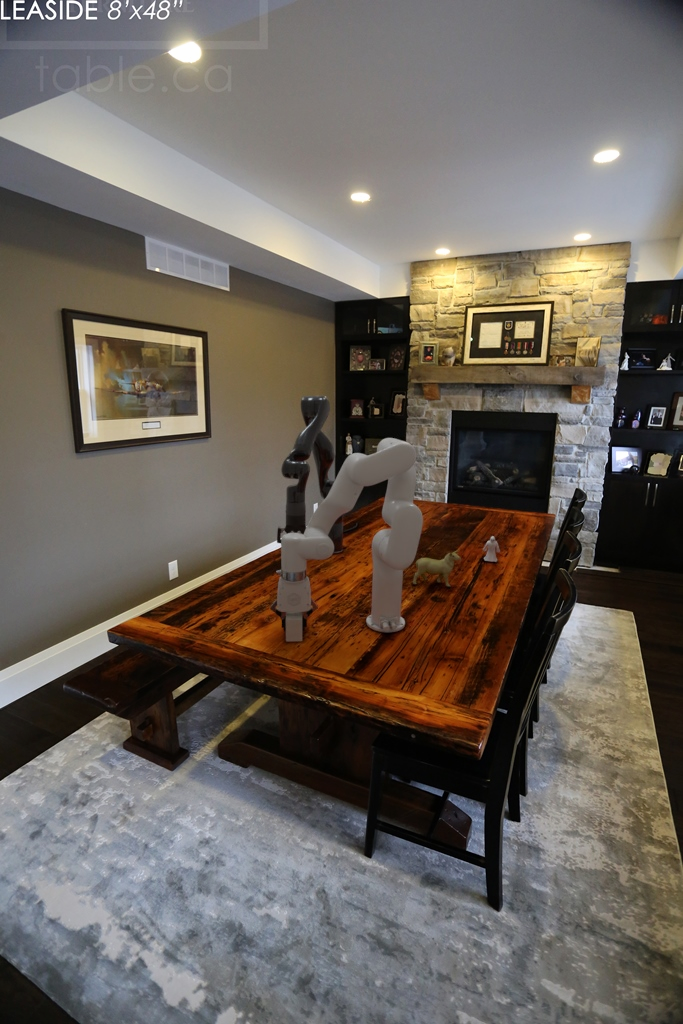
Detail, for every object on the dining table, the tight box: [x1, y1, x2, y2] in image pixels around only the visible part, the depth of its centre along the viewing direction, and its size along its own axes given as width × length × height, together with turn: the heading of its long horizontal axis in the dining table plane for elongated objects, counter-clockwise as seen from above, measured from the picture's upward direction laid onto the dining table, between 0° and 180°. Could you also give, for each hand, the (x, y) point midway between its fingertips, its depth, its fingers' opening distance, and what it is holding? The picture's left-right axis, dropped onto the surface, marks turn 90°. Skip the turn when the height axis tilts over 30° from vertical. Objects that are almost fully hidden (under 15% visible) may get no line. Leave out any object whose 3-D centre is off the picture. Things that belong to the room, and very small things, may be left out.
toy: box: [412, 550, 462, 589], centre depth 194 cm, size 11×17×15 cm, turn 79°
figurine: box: [482, 535, 501, 563], centre depth 223 cm, size 8×8×12 cm
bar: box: [285, 612, 303, 643], centre depth 175 cm, size 52×5×7 cm, turn 4°
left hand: (295, 553), depth 194 cm, fingers open, 8 cm apart
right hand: (294, 628), depth 155 cm, fingers closed on bar, 5 cm apart
